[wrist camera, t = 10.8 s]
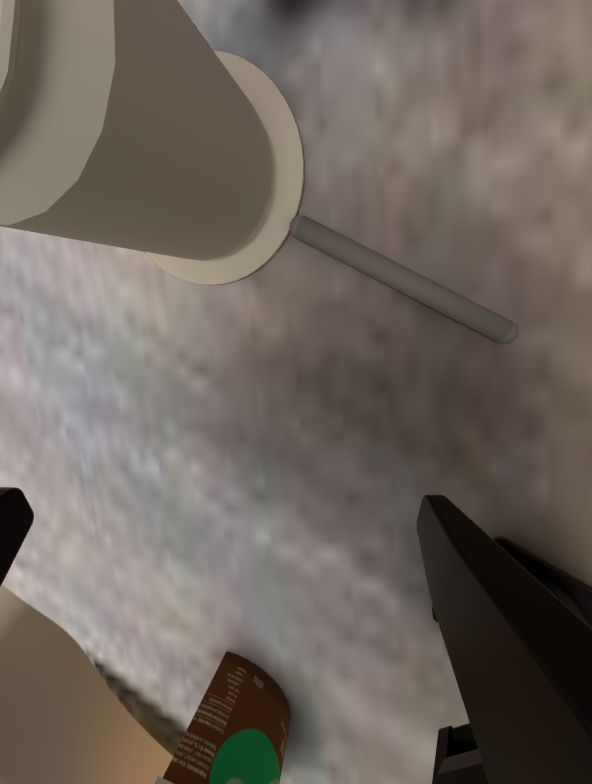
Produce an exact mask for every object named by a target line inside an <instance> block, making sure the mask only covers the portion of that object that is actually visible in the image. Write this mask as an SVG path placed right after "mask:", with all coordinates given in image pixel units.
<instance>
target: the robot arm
mask: <svg viewBox="0 0 592 784" xmlns="http://www.w3.org/2000/svg"><path fill="white" fill-rule="evenodd" d="M33 519H34V513H33V510H32V509H31V507H30V505H29V503H28V501H27V499H26V497H25V495H24V494H23V492H22V490H20V489H19V488H13V487H1V488H0V586H1V584H2V582H3V581H4V579H5V577H6V575H7V573H8V571H9V569H10V567H11V565H12V563H13V561H14V559H15V557H16V555H17V553H18V551H19V549H20V547H21V545H22V543H23V541H24V539H25V537H26V535H27V533H28V531H29V529H30V527H31V525H32V523H33ZM417 532H418V537H419V541H420V546H421V551H422V556H423V561H424V566H425V571H426V576H427V581H428V585H429V590H430V595H431V599H432V603H433V608H432V614H433V618H434V620H435V621H436V622H437V623H439V626H440V629H441V633H442V636H443V639H444V642H445V645H446V648H447V652H448V655H449V658H450V661H451V664H452V667H453V671H454V674H455V677H456V680H457V683H458V687H459V690H460V693H461V696H462V699H463V702H464V706H465V709H466V712H467V715H468V718H469V721H470V723H468V724H465V725H461V726H458V727H455V728H453V727H452V726H448V727H445V728H441V729H439V732H438V740H437V748H436V756H435V764H434V773H433V781H432V784H592V588H590V587H589V586H587V585H585V584H583V583H582V582H580V581H578V580H576V579H575V578H573V577H571V576H569V575H568V574H566V573H564V572H562V571H561V570H559V569H557V568H555V567H554V566H552V565H550V564H549V563H547V562H545V561H543V560H542V559H540V558H538V557H536V556H535V555H533V554H531V553H529V552H528V551H526V550H524V549H522V548H521V547H519V546H517V545H515V544H514V543H512V542H510V541H509V540H506V539H496V540H495V541H494V540H493V539H492V538H491V537H490V536H488V535H487V534H486V533H485V532H484V531H483V530H482V529H481V528H480V527H479V526H477V525H476V524H475V523H474V522H473V521H472V520H471V519H470V518H469V517H468V516H466V515H465V514H464V513H463V512H462V511H461V510H460V509H459V508H458V507H456V506H455V505H454V504H453V503H452V502H451V501H450V500H449V499H448V498H446V497H445V496H443V495H425V496H424V497H423V499H422V503H421V506H420V510H419V514H418V518H417ZM503 548H507V549H506V550H504V549H503Z"/></svg>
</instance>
